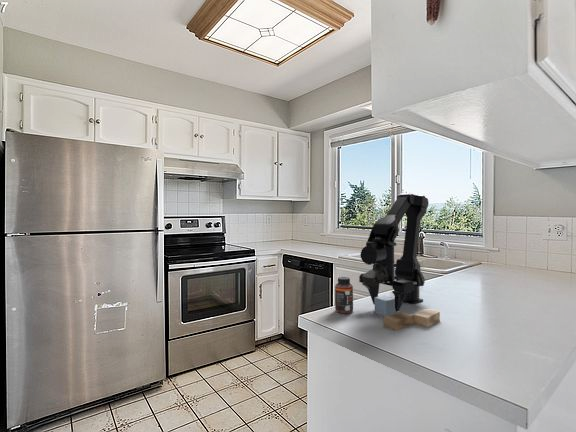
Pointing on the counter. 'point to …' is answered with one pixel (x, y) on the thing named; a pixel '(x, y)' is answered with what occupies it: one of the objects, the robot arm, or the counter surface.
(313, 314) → the counter surface
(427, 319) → the brick
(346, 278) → the supplement bottle
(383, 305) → the cube
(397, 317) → the base brick
